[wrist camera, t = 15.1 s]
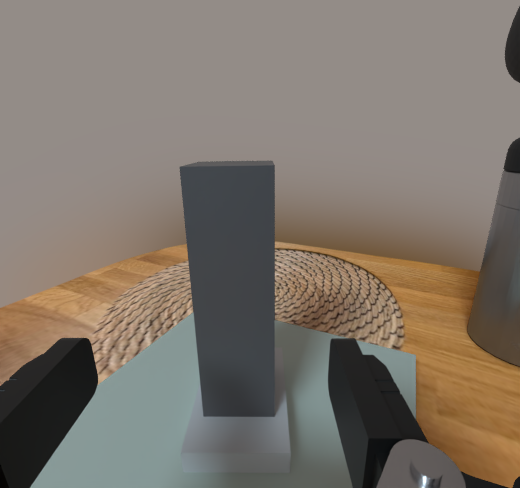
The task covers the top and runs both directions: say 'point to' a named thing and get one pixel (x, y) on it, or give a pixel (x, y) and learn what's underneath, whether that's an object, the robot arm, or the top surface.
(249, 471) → the grey pillar on base
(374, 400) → the robot arm
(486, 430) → the top surface
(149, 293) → the top surface
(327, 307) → the top surface
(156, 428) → the board
